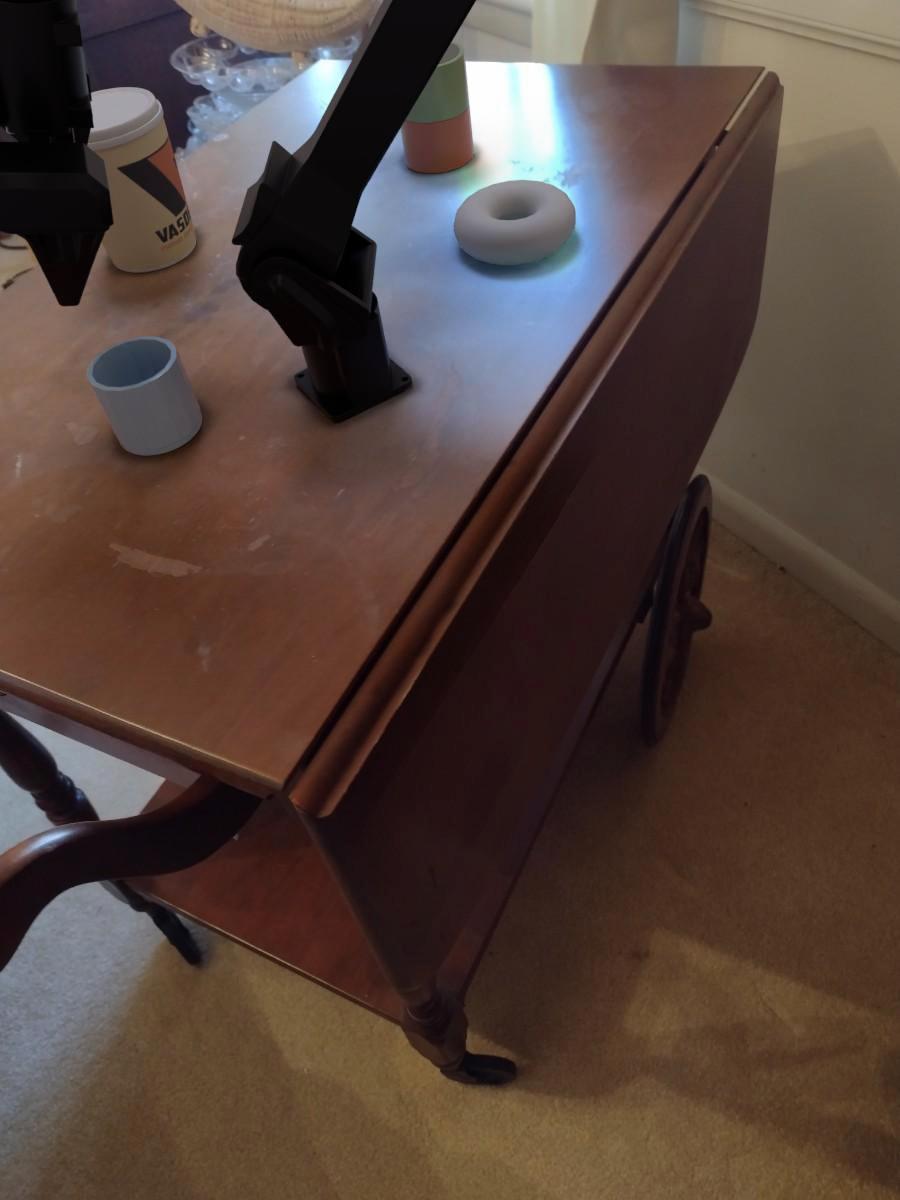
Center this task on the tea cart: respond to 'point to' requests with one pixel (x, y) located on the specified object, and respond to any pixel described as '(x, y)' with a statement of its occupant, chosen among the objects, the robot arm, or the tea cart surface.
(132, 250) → the coffee cup
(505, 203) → the donut
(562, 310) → the tea cart surface
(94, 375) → the blue cup
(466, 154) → the cup stack
